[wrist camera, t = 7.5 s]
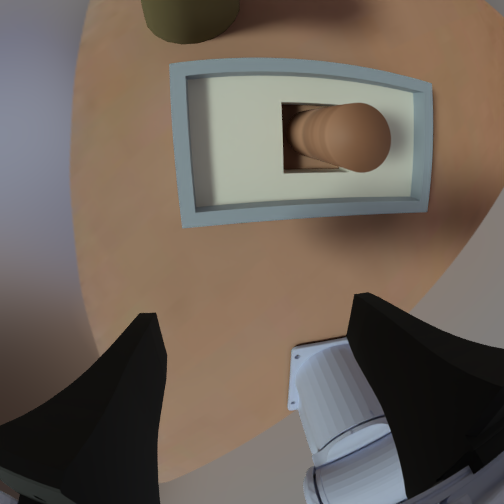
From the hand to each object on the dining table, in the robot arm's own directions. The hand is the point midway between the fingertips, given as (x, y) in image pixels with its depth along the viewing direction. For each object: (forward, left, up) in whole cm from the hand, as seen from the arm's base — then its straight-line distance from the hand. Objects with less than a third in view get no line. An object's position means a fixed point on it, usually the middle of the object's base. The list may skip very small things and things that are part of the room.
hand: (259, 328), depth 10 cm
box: (+6, -5, -10) cm, 13 cm away
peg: (+6, -5, -10) cm, 13 cm away
